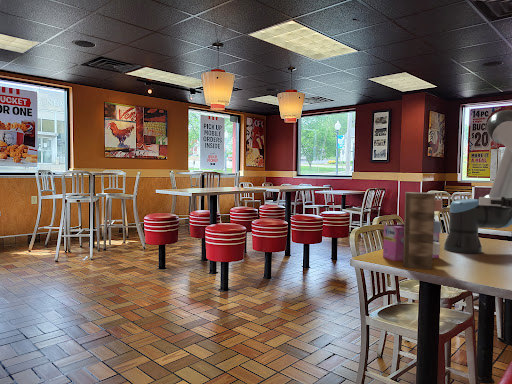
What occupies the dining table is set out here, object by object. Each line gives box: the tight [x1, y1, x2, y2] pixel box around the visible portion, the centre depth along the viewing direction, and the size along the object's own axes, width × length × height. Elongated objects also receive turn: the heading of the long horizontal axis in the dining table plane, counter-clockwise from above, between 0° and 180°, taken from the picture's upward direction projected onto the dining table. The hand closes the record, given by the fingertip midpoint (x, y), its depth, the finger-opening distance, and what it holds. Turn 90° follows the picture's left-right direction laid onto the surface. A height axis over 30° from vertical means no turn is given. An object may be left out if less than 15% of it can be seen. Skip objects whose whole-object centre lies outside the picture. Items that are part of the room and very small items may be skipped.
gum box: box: [382, 223, 440, 262], centre depth 158 cm, size 24×8×14 cm, turn 110°
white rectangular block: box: [433, 241, 441, 256], centre depth 143 cm, size 9×4×4 cm, turn 71°
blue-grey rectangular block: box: [434, 220, 442, 234], centre depth 142 cm, size 9×4×4 cm, turn 71°
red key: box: [434, 199, 443, 212], centre depth 142 cm, size 9×4×4 cm, turn 71°
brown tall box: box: [402, 191, 436, 271], centre depth 143 cm, size 10×10×27 cm
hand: (479, 201), depth 135 cm, fingers closed
